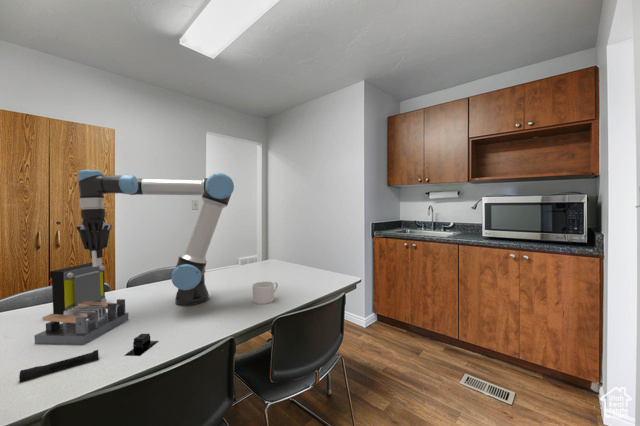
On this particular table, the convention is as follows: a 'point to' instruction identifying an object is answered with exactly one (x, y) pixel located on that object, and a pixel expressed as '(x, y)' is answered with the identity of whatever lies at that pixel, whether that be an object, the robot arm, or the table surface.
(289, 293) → the table surface
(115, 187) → the robot arm
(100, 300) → the electrical component
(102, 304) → the lever
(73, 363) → the long black strip
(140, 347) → the black flanged mount
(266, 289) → the mug
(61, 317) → the lever
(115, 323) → the heatsink base
